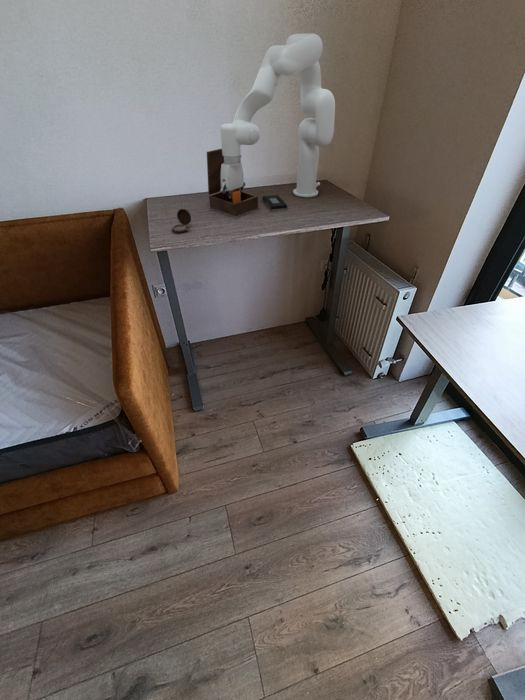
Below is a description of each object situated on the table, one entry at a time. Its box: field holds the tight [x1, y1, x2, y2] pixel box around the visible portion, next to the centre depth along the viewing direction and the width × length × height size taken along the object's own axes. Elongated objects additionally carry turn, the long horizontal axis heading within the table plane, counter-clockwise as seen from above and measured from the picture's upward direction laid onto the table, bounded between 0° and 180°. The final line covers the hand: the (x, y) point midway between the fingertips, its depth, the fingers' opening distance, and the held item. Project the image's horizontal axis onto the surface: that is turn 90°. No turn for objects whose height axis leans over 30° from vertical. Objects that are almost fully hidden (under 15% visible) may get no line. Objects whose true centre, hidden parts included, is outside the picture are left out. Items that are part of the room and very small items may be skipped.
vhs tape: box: [262, 194, 288, 210], centre depth 156 cm, size 8×14×2 cm, turn 15°
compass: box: [171, 208, 192, 234], centre depth 132 cm, size 8×8×7 cm
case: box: [208, 190, 259, 217], centre depth 150 cm, size 16×14×6 cm
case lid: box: [206, 147, 223, 196], centre depth 147 cm, size 17×14×5 cm
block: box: [228, 189, 241, 204], centre depth 150 cm, size 4×4×7 cm
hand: (233, 204), depth 151 cm, fingers closed on block, 4 cm apart
